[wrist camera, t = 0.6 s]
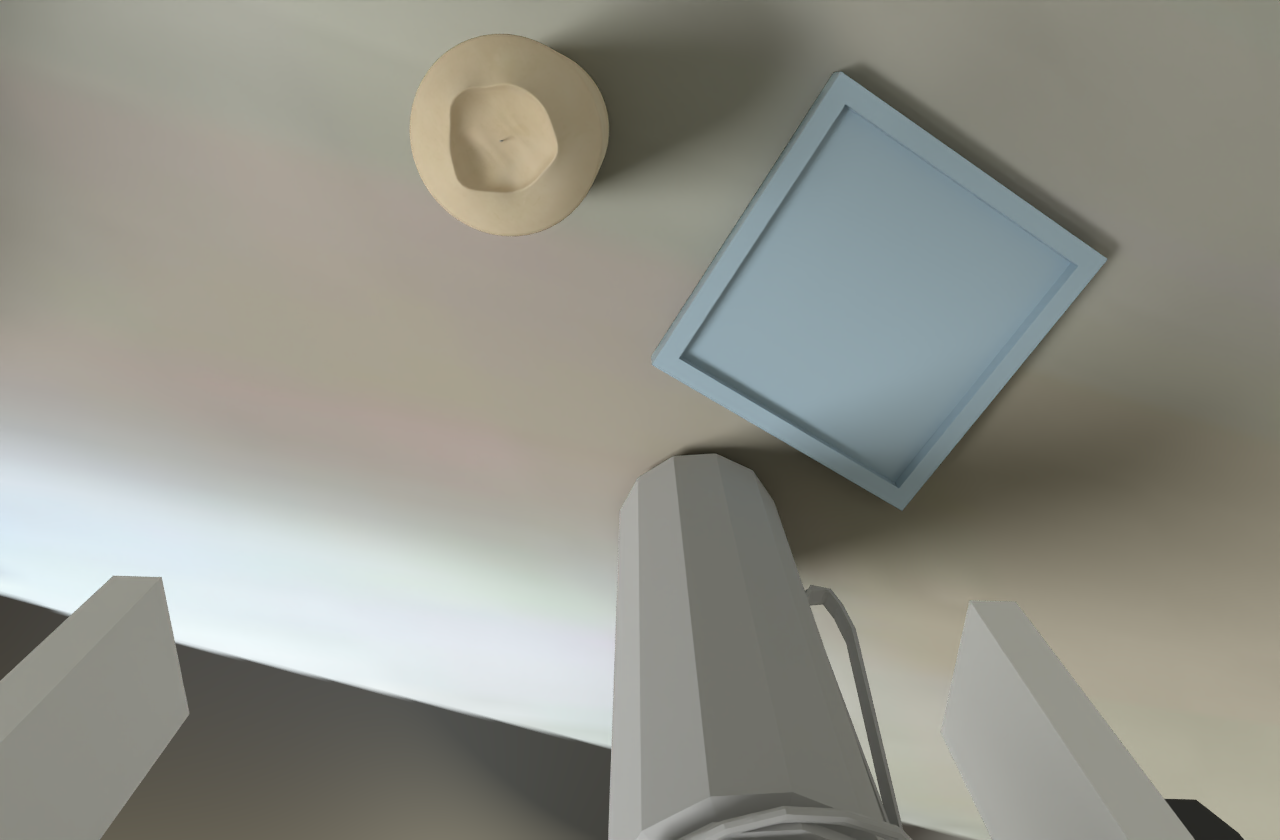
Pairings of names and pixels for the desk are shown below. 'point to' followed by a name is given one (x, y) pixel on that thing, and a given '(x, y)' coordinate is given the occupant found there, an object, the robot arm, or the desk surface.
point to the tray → (873, 296)
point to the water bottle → (731, 675)
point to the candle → (508, 134)
